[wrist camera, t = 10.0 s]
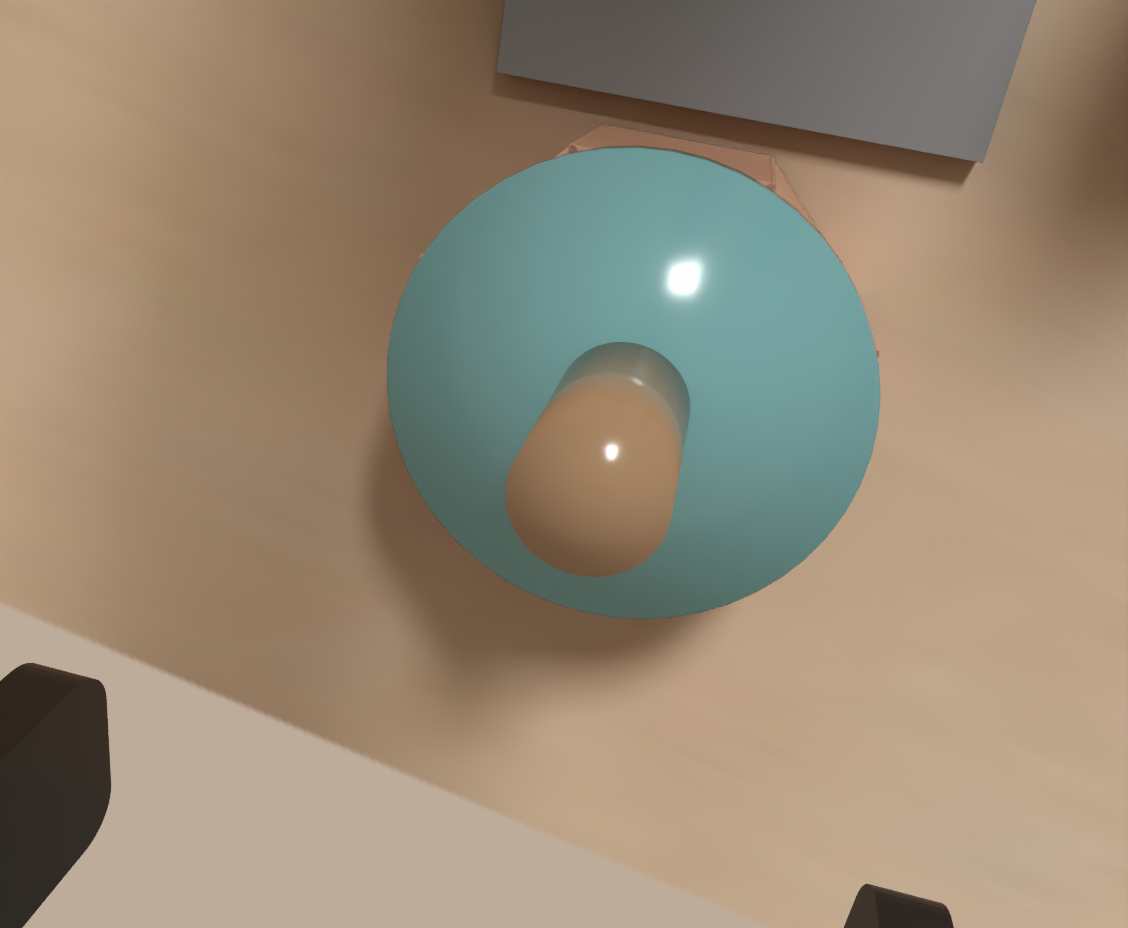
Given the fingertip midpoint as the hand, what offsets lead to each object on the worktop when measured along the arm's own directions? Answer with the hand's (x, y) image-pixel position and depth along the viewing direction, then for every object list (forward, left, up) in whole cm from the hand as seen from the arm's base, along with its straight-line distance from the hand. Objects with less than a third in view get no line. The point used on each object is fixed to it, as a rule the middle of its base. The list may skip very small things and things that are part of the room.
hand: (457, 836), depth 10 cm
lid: (0, 0, -14) cm, 14 cm away
